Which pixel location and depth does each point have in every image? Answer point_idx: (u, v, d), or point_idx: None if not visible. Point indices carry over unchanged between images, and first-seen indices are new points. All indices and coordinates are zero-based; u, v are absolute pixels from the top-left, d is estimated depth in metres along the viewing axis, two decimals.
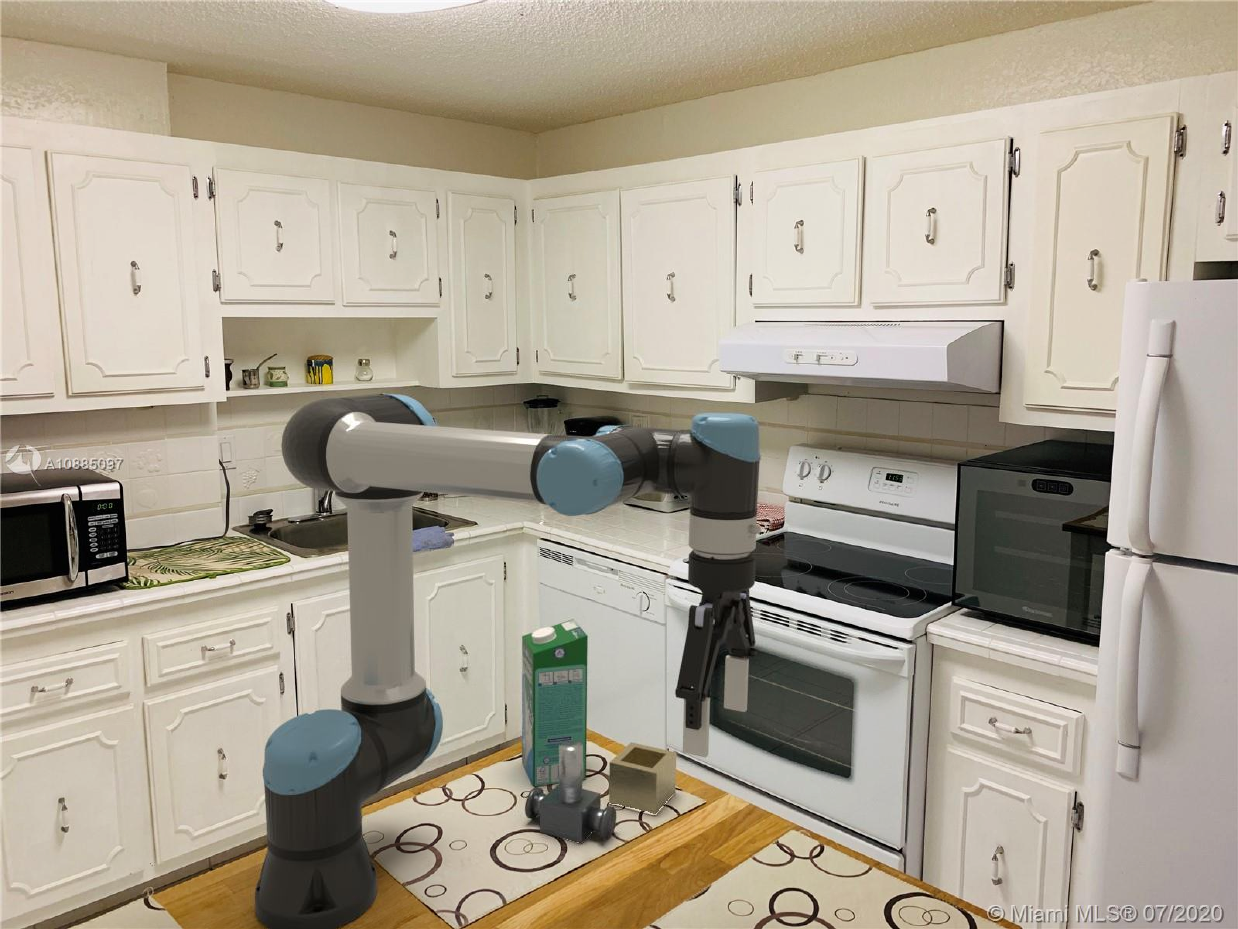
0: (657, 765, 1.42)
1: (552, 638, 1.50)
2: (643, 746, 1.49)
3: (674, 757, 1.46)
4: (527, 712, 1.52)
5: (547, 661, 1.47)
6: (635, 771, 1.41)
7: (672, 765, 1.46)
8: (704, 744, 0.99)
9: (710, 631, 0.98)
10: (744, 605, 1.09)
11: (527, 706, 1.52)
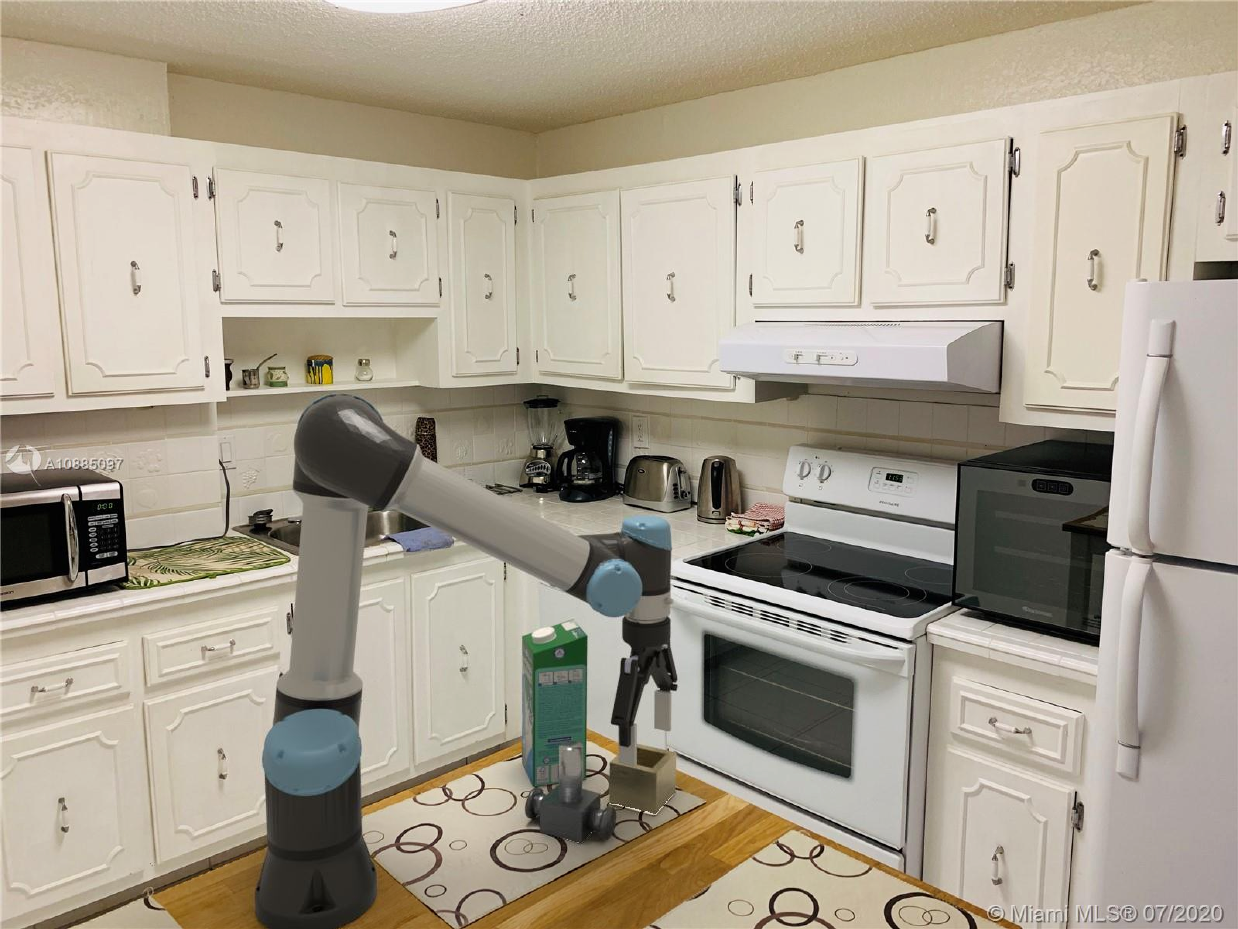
0: (657, 765, 1.42)
1: (552, 638, 1.50)
2: (643, 746, 1.49)
3: (674, 757, 1.46)
4: (527, 712, 1.52)
5: (547, 661, 1.47)
6: (635, 771, 1.41)
7: (672, 765, 1.46)
8: (633, 757, 1.38)
9: (635, 677, 1.37)
10: (666, 653, 1.48)
11: (527, 706, 1.52)
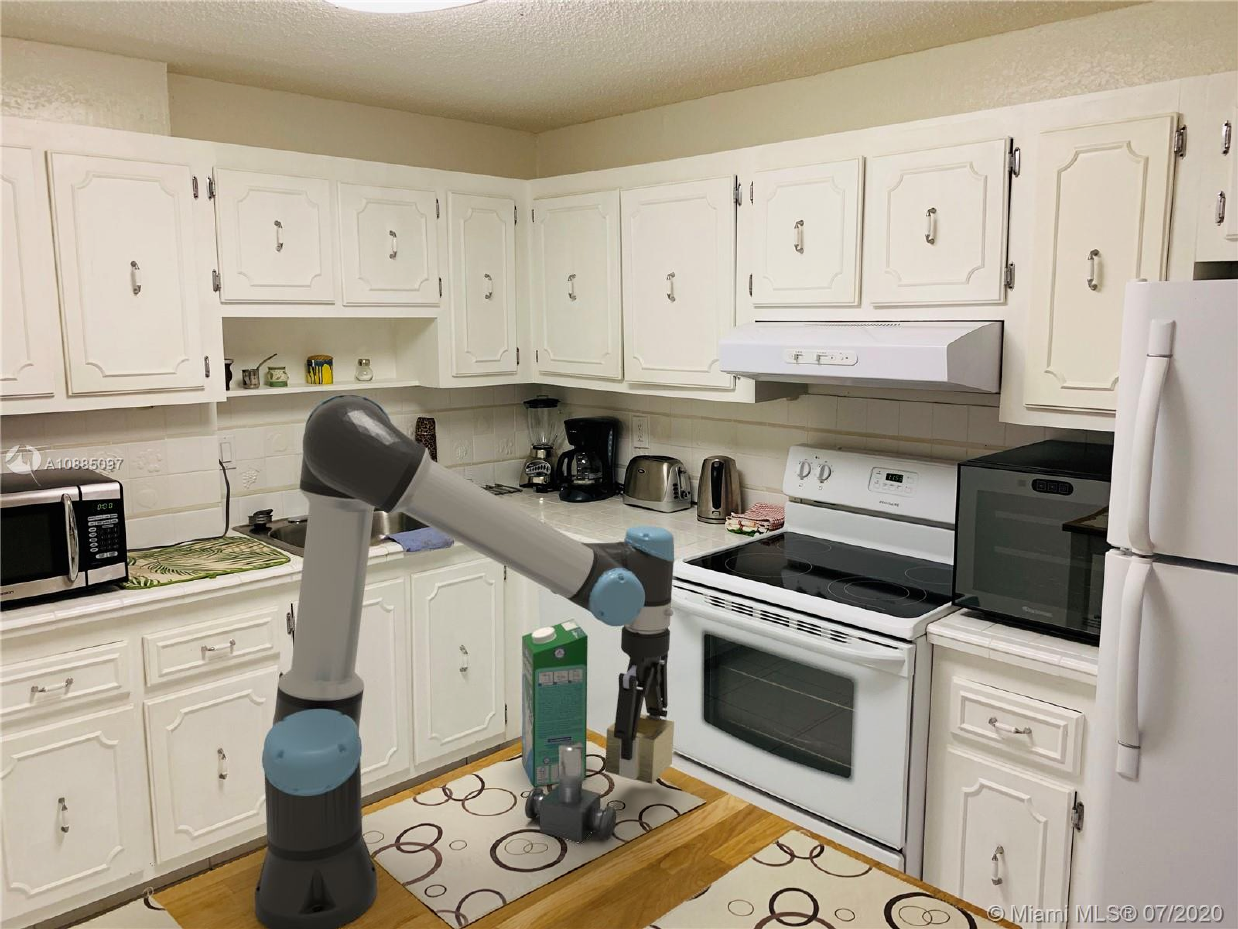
0: (655, 733, 1.42)
1: (552, 638, 1.50)
2: (641, 715, 1.48)
3: (671, 726, 1.45)
4: (527, 712, 1.52)
5: (547, 661, 1.47)
6: None
7: (669, 734, 1.45)
8: (634, 770, 1.40)
9: (634, 691, 1.37)
10: (662, 670, 1.48)
11: (527, 706, 1.52)
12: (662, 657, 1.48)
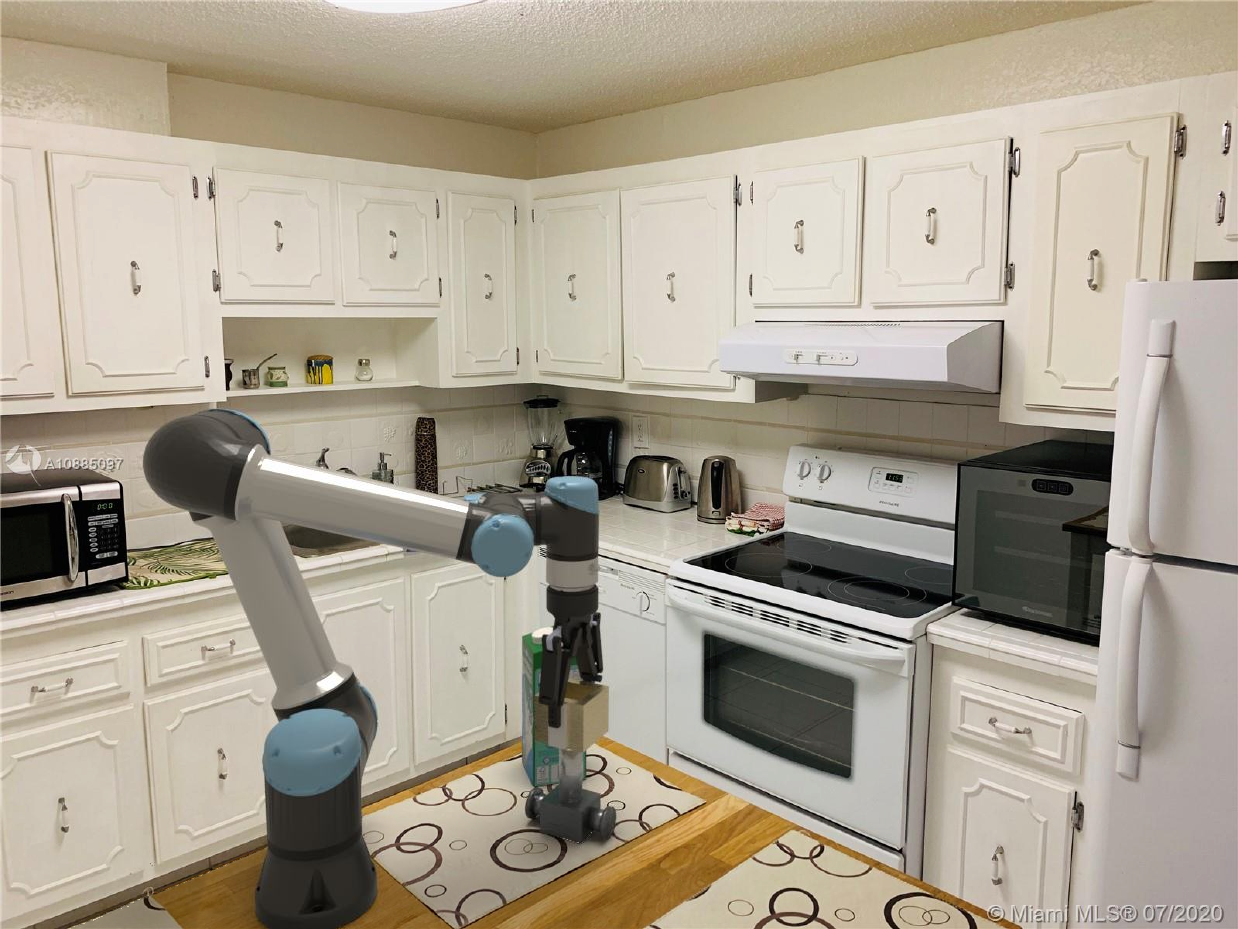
0: (585, 698, 1.31)
1: None
2: (574, 680, 1.38)
3: (605, 691, 1.35)
4: (527, 712, 1.52)
5: None
6: None
7: (604, 699, 1.35)
8: (563, 739, 1.30)
9: (559, 653, 1.27)
10: (594, 632, 1.37)
11: (527, 706, 1.52)
12: (594, 618, 1.37)
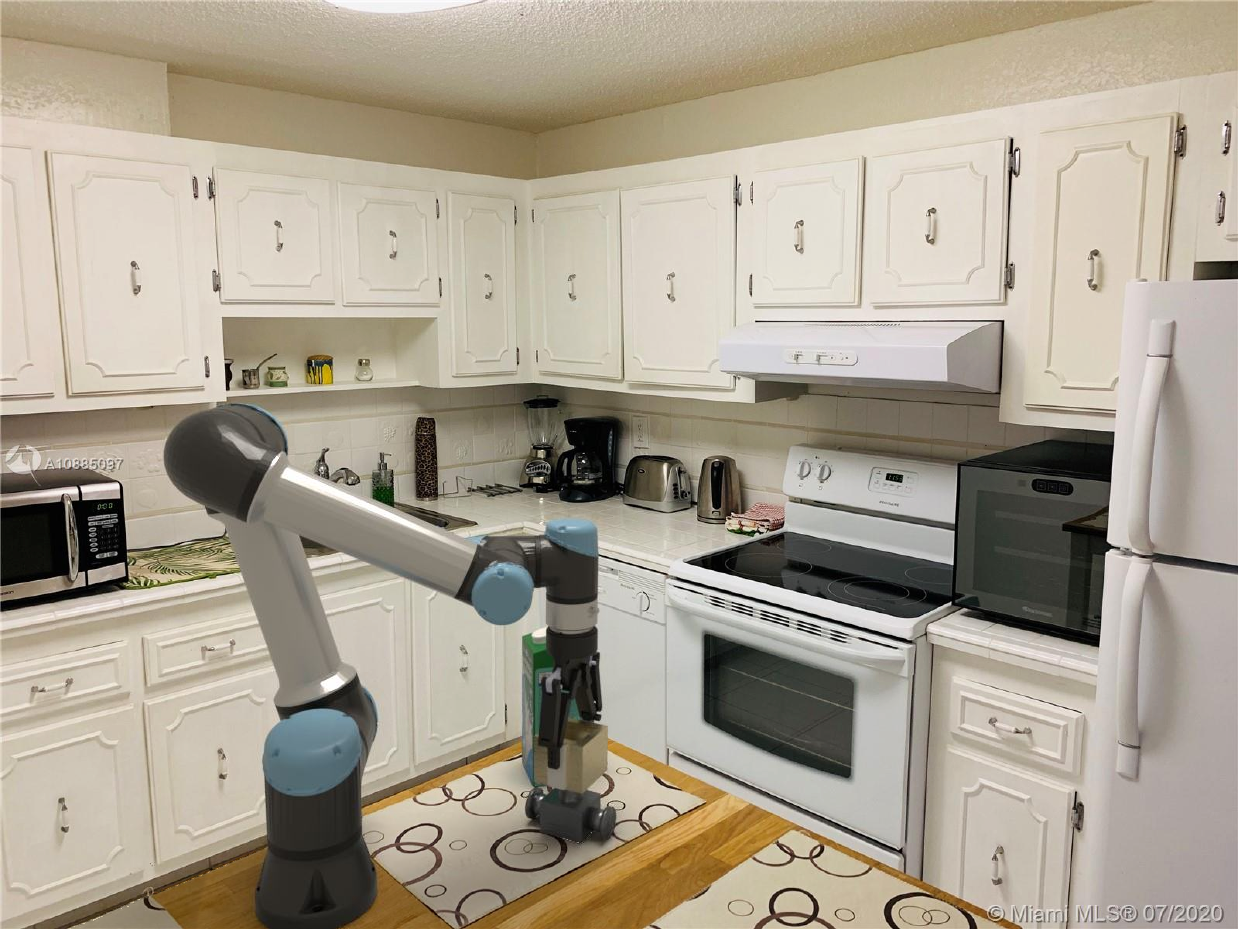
0: (585, 739, 1.32)
1: None
2: (573, 719, 1.39)
3: (604, 731, 1.36)
4: (527, 712, 1.52)
5: (547, 661, 1.47)
6: None
7: (603, 739, 1.36)
8: (562, 780, 1.31)
9: (559, 696, 1.28)
10: (594, 671, 1.38)
11: (527, 706, 1.52)
12: (593, 657, 1.38)
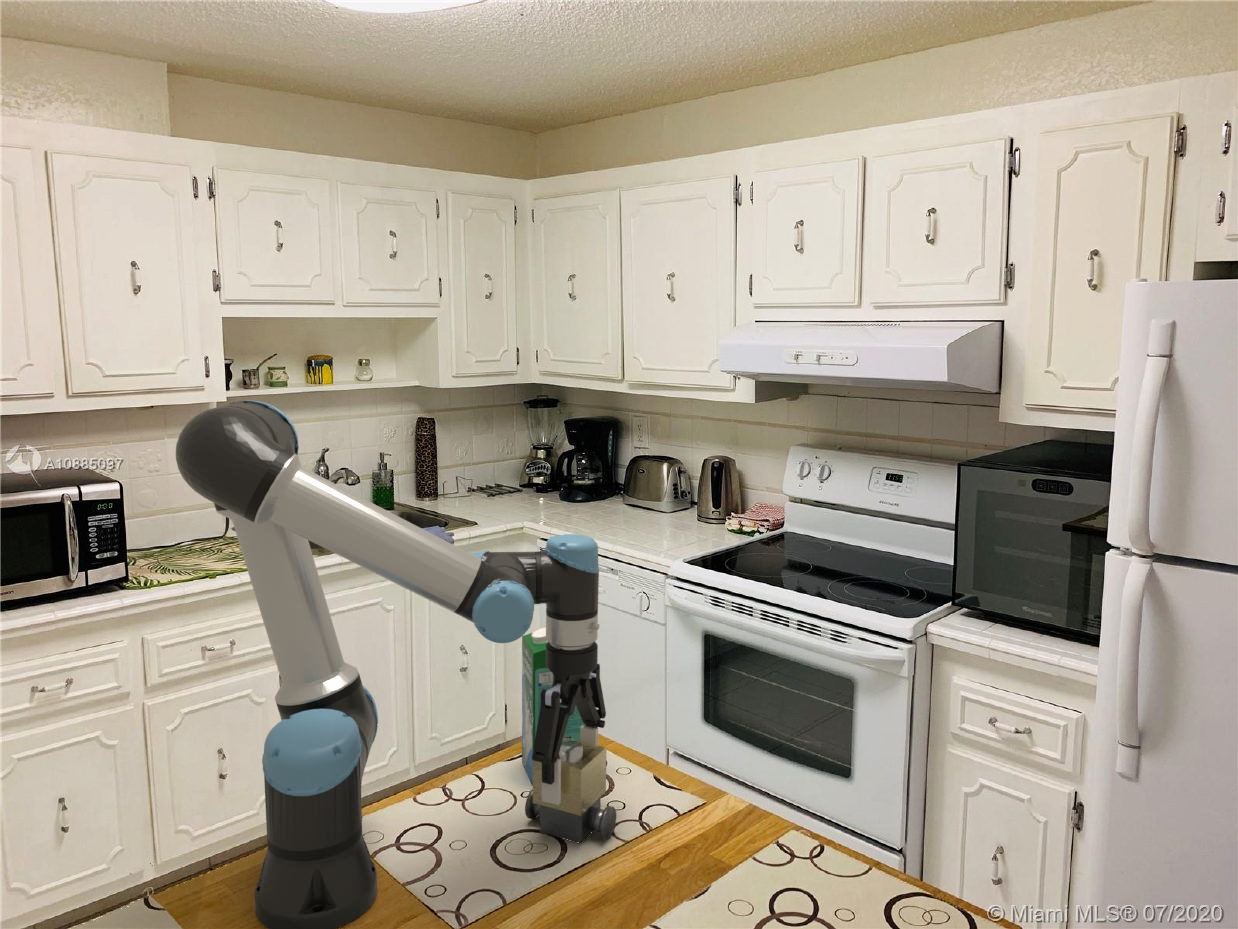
0: (583, 761, 1.33)
1: None
2: (572, 740, 1.39)
3: (603, 752, 1.36)
4: (527, 712, 1.52)
5: None
6: None
7: (601, 761, 1.36)
8: (556, 795, 1.30)
9: (557, 709, 1.28)
10: (595, 683, 1.39)
11: (527, 706, 1.52)
12: (593, 670, 1.39)
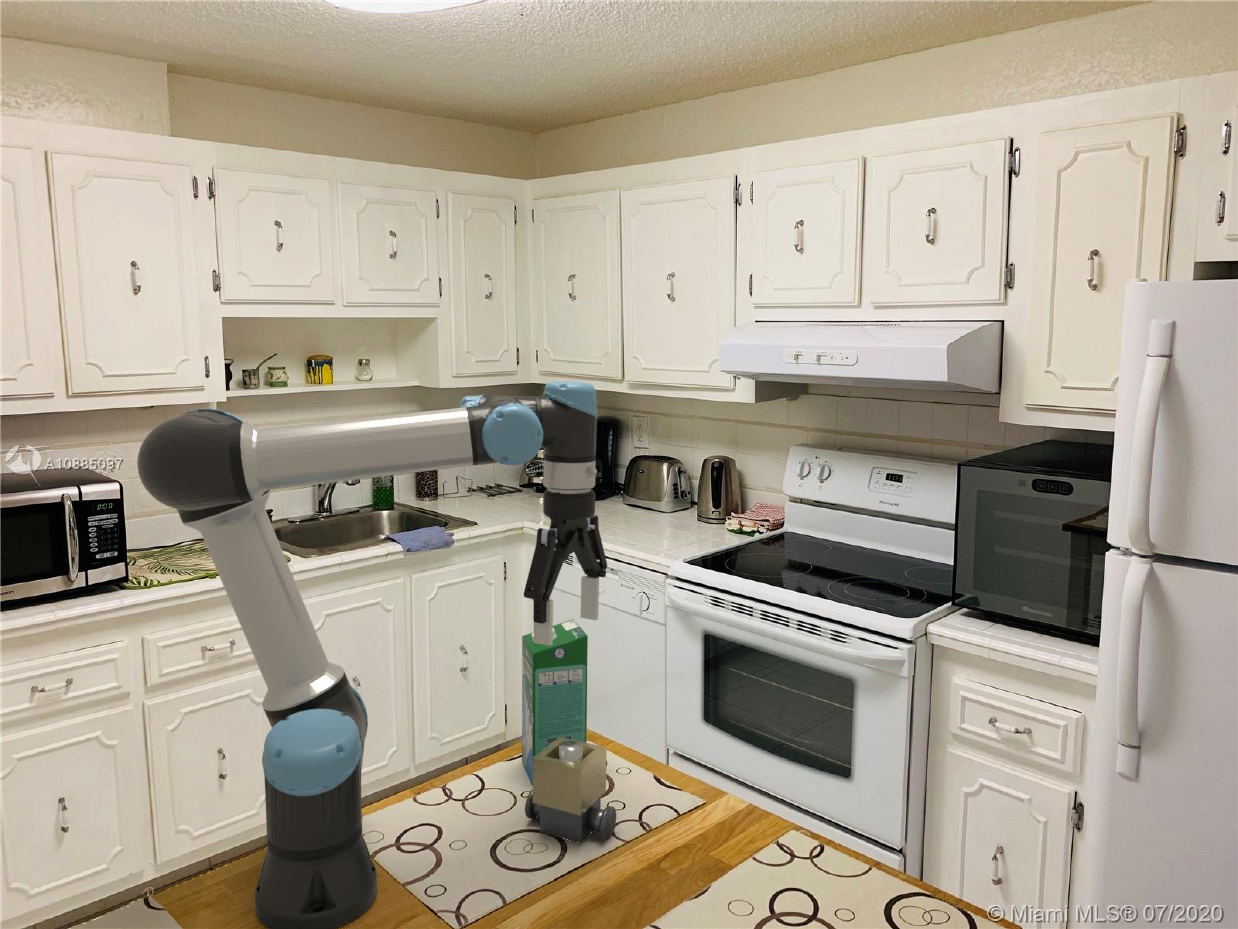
0: (583, 761, 1.33)
1: None
2: (572, 740, 1.39)
3: (603, 752, 1.36)
4: (527, 712, 1.52)
5: (547, 661, 1.47)
6: (560, 767, 1.32)
7: (601, 761, 1.36)
8: (548, 635, 1.29)
9: (552, 548, 1.28)
10: (594, 534, 1.39)
11: (527, 706, 1.52)
12: (591, 521, 1.38)
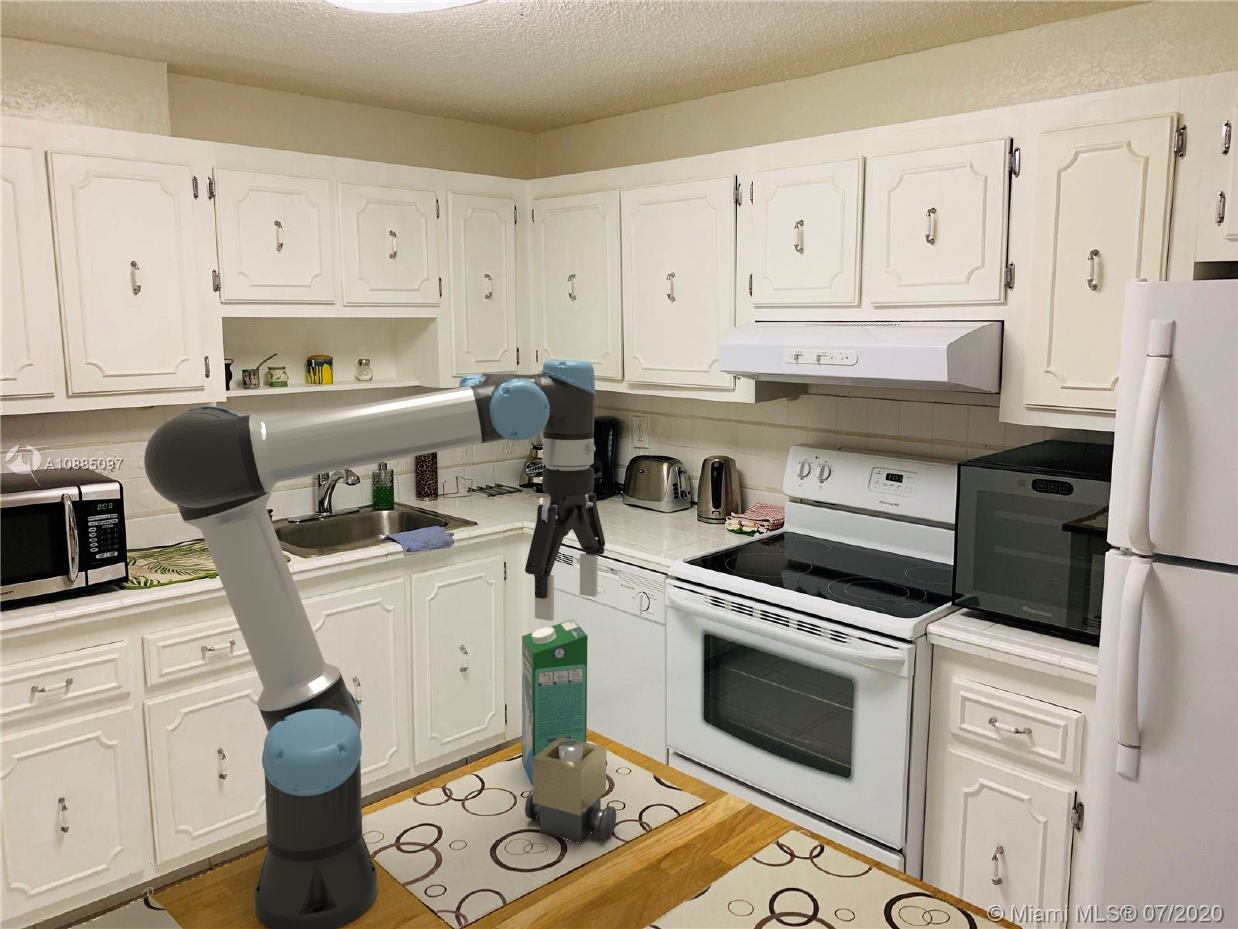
0: (583, 761, 1.33)
1: (552, 638, 1.50)
2: (572, 740, 1.39)
3: (603, 752, 1.36)
4: (527, 712, 1.52)
5: (547, 661, 1.47)
6: (560, 767, 1.32)
7: (601, 761, 1.36)
8: (549, 610, 1.30)
9: (553, 524, 1.29)
10: (592, 512, 1.40)
11: (527, 706, 1.52)
12: (590, 499, 1.40)
